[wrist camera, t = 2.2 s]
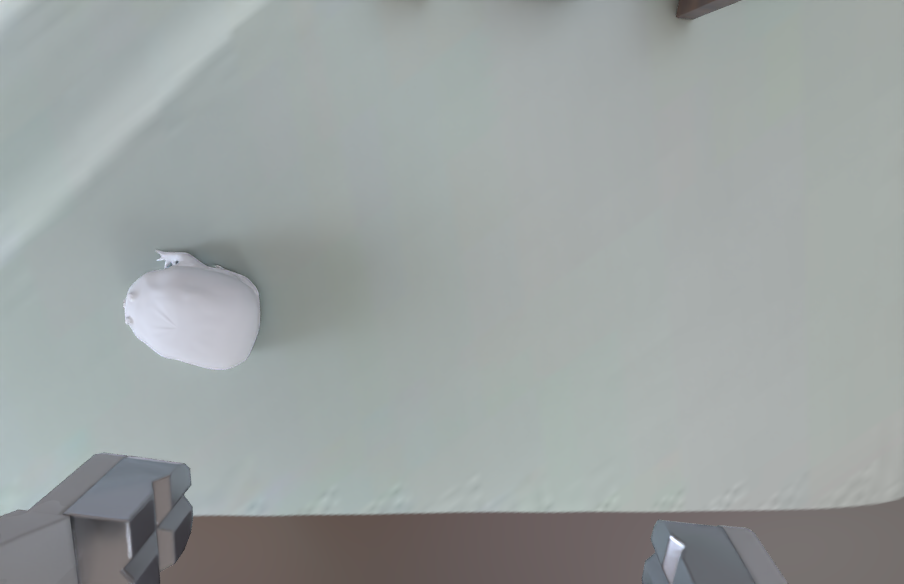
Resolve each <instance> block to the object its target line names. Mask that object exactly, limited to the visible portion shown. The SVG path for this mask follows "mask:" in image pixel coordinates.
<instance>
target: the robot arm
mask: <svg viewBox="0 0 904 584" xmlns="http://www.w3.org/2000/svg"><path fill="white" fill-rule="evenodd" d="M190 486H191V474H190V468H189V467H188V466H187V465H186V464H185V463H178V462H171V461H164V460H157V459H150V458H143V457H136V456H127V455H120V454H111V453H99V454H95V455H93V456H92V457H91V458H90V459H89V460H87V461H86V462H85V463H84V464H83V465H81V466H80V467H79V468H78V469H77V470H75V471H74V472H73V473H72V474H71V475H70V476H68V477H67V478H66V479H65V480H64V481H62V482H61V483H60V484H59V485H58V486H56V487H55V488H54V489H53V490H52V491H51V492H49V493H48V494H47V495H46V496H45V497H43V498H42V499H41V500H40V501H39V502H37V503H36V504H35V505H34V506H33V507H32V508H30V509H29V510H28V511H26V510H16V511H13V512H11V513H8V514H5V515H3V516H0V584H160V572H161V571H163V570H165V569H166V568H168V567H170V566H172V565H174V564H175V563H176V561H177V560H178V558H179V557H180V555H181V554H182V552H183V551H184V549H185V546H186V544H187V541H188V539H189V536H190V534H191V528H192V521H193V507H192V505H191V504H190V503H189V501H188V500H187V499H186V497H185V496H184V494H185V492H186V491H187V490H188V488H189V487H190ZM651 541H652V544H653V547H654V549H655V553H654V554H653V555H652V556H651V557H649V558H648V559H647V560H646V561H645V566H644V571H643V576H642V584H788V583H787V581H786V580H785V578H784V577H783V575H782V574H781V572H780V570H779V569H778V568H777V566H776V564H775V563H774V561H773V560H772V559H771V557H770V555H769V554H768V552H767V551H766V549H765V548H764V546H763V545H762V543H761V542H760V540H759V539H758V537H757V536H756V534H755V533H754V532H753V531H751V530H750V529H748V528H742V527H731V526H719V525H718V526H710V525H701V524H692V523H683V522H674V521H665V520H658V521H657V522H656V524H655V526H654V528H653V532H652V536H651Z"/></svg>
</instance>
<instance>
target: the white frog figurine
mask: <svg viewBox="0 0 904 584" xmlns="http://www.w3.org/2000/svg"><path fill="white" fill-rule="evenodd" d="M155 251H156V252H157V253H159V254H160V255H161V258H159V259H157V261H161V260H165V261H166V263H165V267H164V269H162V270H154V271H150V272H147V273H145V274H144V275H142V276H141V277H140V278H138V279H137V280H136V281H135V282H134V283H133V284H132V285H131V287H130V288H129V290H128V293H127V298H126V299H124V302H123V303H125V304H123V308H124V309H125V323H126V324H129V326H130V327H131V329H132V331H133V332H134V334H135V335H136V337H137V338H138V339H139V340H141V341H142V342H144V343H145V344H147V345H148V346H149V347H150V348H151V349H152V350H154V351H155V352H156V353H157V354H159V355H161V356H162V357H165V358H168V359H175V360H180V361H182V362H185V363H188V364H192V365H196V366H200V367H203V368H207V369H213V370H225V369H230V368H233V367H235V366H237V365H239V364H241V363H242V362H244V361H245V360H246V359H247V358H248V356H249V354H250V352H251V350H252V348H253V345H254V343H255V340H256V338H257V335H258V332H259V328H260V317H261V316H260V300H259V293H258V290H257V288H256V287H255V285H254V284H253V283H252V282H251V280H250V279H248V278H247V277H245V276H243V275H241V274H238V273H235V272H232V271H229V270H226V269H224V268H223V267H221V266H218V265H216V268H214V267H209V266H206V265H204V264H203V263H201V262H200V261H199V260H197V259H196V258H195V257H193V256H192V255H191V254H189V253H186V252H163V251H160V250H155ZM177 261H179V263H177ZM170 263H172V265H173V266H171V267H169V268H167V267H168V266H169V264H170Z"/></svg>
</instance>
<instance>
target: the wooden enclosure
mask: <svg viewBox="0 0 904 584" xmlns="http://www.w3.org/2000/svg"><path fill="white" fill-rule="evenodd" d="M738 1H741V0H679V3H678V8H677V13H676V17H677V18H685V19H695V18H698V17H700V16H703V15H705V14H708V13H710V12H713V11H715V10H718V9H720V8H723V7H725V6H728V5H731V4H733V3H736V2H738Z"/></svg>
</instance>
